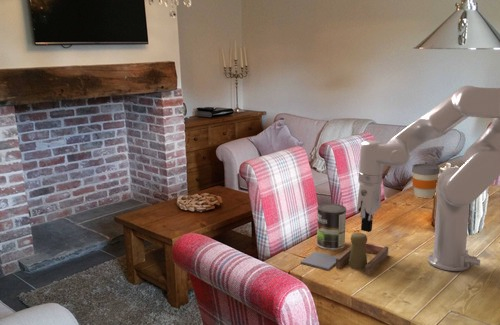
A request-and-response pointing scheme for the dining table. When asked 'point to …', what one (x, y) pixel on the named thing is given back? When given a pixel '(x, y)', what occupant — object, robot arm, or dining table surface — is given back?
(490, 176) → the robot arm
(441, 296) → the dining table surface
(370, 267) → the brown u-shaped frame
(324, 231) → the coffee can
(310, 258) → the coaster
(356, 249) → the tan hourglass shape
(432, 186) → the reusable coffee cup
